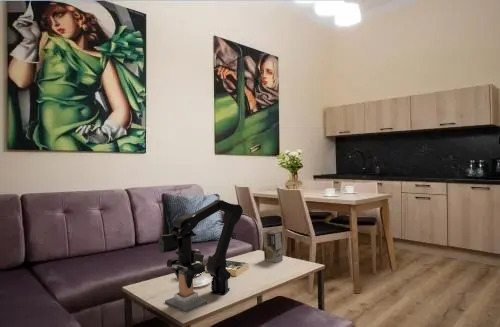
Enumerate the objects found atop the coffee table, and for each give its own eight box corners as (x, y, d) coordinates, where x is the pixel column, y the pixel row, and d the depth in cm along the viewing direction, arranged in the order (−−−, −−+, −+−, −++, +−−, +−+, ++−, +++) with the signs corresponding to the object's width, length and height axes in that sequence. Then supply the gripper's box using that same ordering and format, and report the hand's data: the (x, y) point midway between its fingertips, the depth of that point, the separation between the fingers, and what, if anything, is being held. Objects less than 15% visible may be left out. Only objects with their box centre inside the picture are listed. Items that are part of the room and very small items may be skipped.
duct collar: (207, 302, 129) (207, 293, 129) (185, 312, 121) (185, 302, 121) (186, 294, 138) (186, 285, 138) (164, 302, 130) (164, 293, 130)
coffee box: (283, 260, 183) (282, 232, 183) (276, 263, 178) (275, 234, 178) (270, 257, 189) (270, 230, 189) (263, 260, 184) (263, 232, 184)
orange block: (193, 293, 130) (192, 269, 130) (185, 296, 127) (184, 271, 127) (187, 291, 133) (186, 267, 133) (179, 294, 130) (178, 269, 130)
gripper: (214, 247, 129) (216, 286, 129) (187, 241, 142) (188, 276, 142) (192, 253, 121) (194, 294, 121) (165, 246, 134) (166, 283, 134)
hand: (186, 286), depth 130 cm, fingers closed on orange block, 4 cm apart
